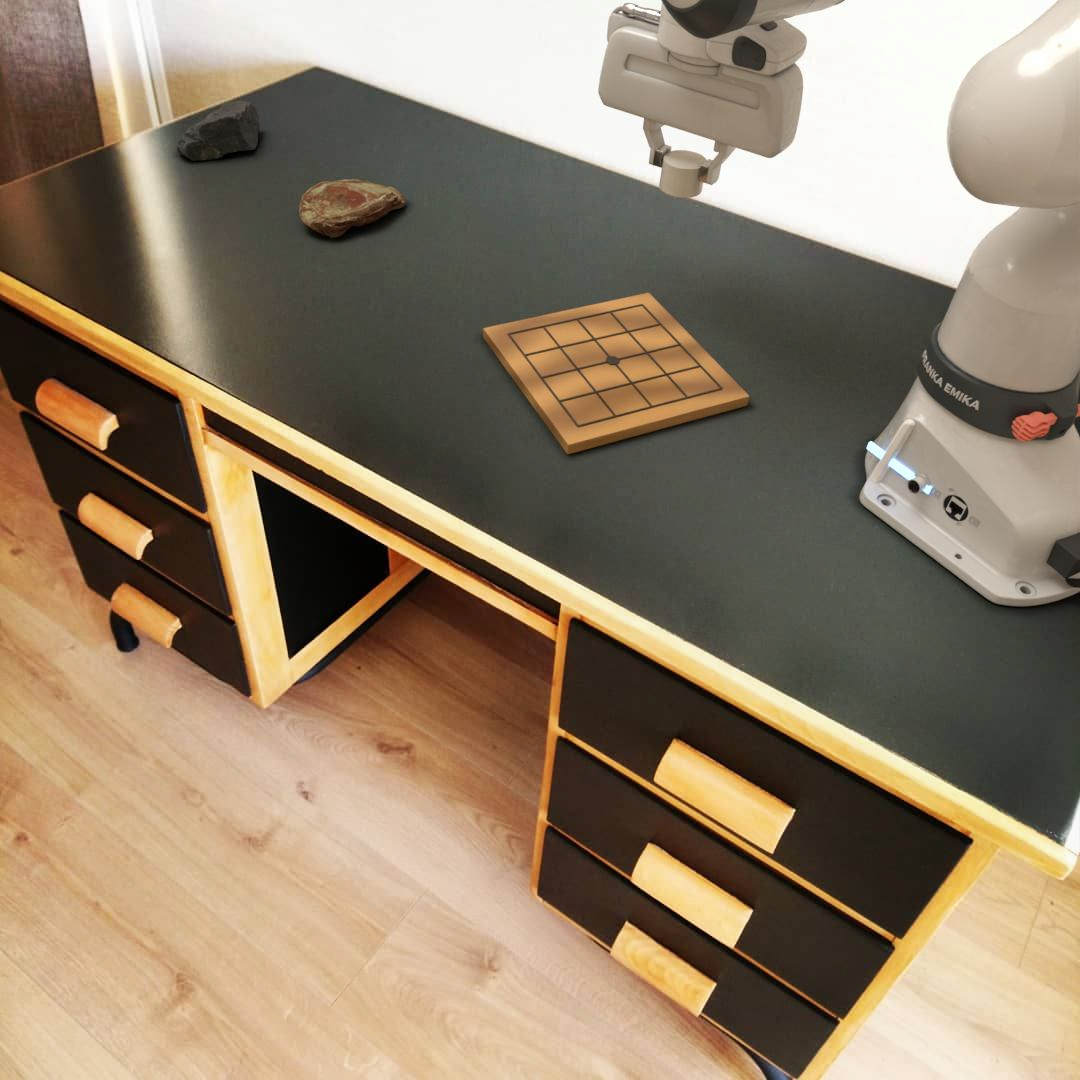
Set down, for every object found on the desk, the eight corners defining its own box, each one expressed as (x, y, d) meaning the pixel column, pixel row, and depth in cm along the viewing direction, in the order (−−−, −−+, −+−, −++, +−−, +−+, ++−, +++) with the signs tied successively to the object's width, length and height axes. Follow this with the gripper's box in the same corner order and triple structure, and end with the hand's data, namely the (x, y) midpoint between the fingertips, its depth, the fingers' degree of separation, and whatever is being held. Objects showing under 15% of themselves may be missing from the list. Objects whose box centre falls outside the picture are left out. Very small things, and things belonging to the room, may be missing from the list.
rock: (179, 172, 122) (252, 155, 121) (160, 125, 119) (235, 107, 118) (201, 153, 131) (269, 137, 130) (184, 110, 127) (253, 93, 127)
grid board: (747, 405, 93) (750, 395, 92) (567, 454, 86) (568, 443, 85) (647, 301, 105) (649, 291, 104) (482, 337, 98) (483, 326, 97)
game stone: (710, 194, 95) (715, 165, 93) (672, 200, 94) (677, 171, 92) (687, 176, 98) (692, 147, 96) (651, 181, 97) (655, 153, 95)
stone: (346, 186, 120) (344, 161, 118) (412, 204, 117) (411, 180, 115) (280, 228, 112) (276, 203, 110) (350, 249, 109) (347, 224, 107)
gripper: (593, 5, 87) (580, 153, 97) (794, 60, 79) (759, 215, 89) (628, -10, 91) (613, 134, 101) (824, 42, 83) (787, 192, 93)
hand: (683, 173), depth 95 cm, fingers closed on game stone, 4 cm apart
